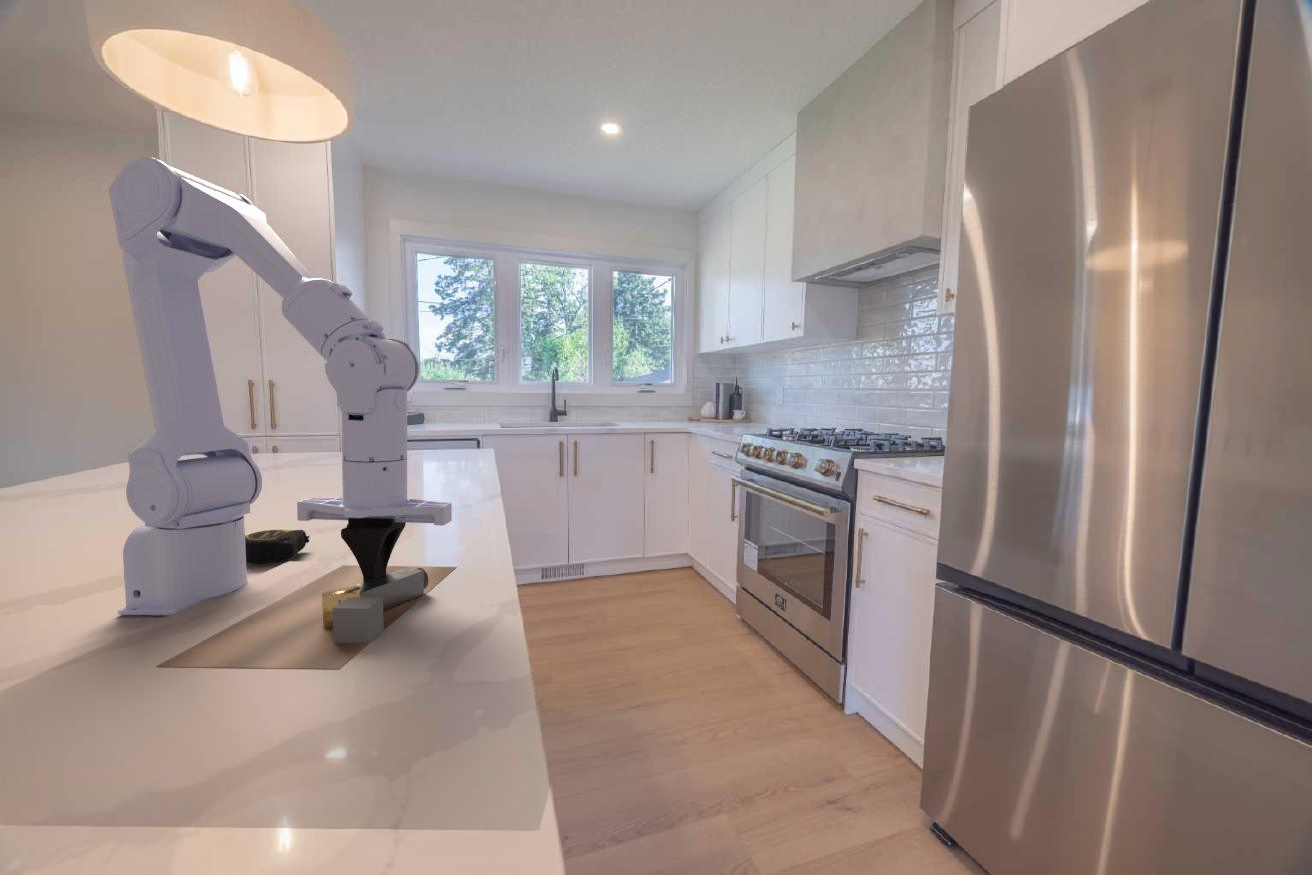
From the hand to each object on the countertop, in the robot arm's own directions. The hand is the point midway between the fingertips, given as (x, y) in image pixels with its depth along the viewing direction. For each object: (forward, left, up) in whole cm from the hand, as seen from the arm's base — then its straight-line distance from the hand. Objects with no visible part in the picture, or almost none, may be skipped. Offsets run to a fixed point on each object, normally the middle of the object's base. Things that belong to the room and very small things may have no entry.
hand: (376, 591), depth 53 cm
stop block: (+3, -8, -1) cm, 8 cm away
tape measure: (-22, +17, -3) cm, 29 cm away
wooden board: (-3, -1, -3) cm, 4 cm away
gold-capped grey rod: (+1, -2, -1) cm, 2 cm away
